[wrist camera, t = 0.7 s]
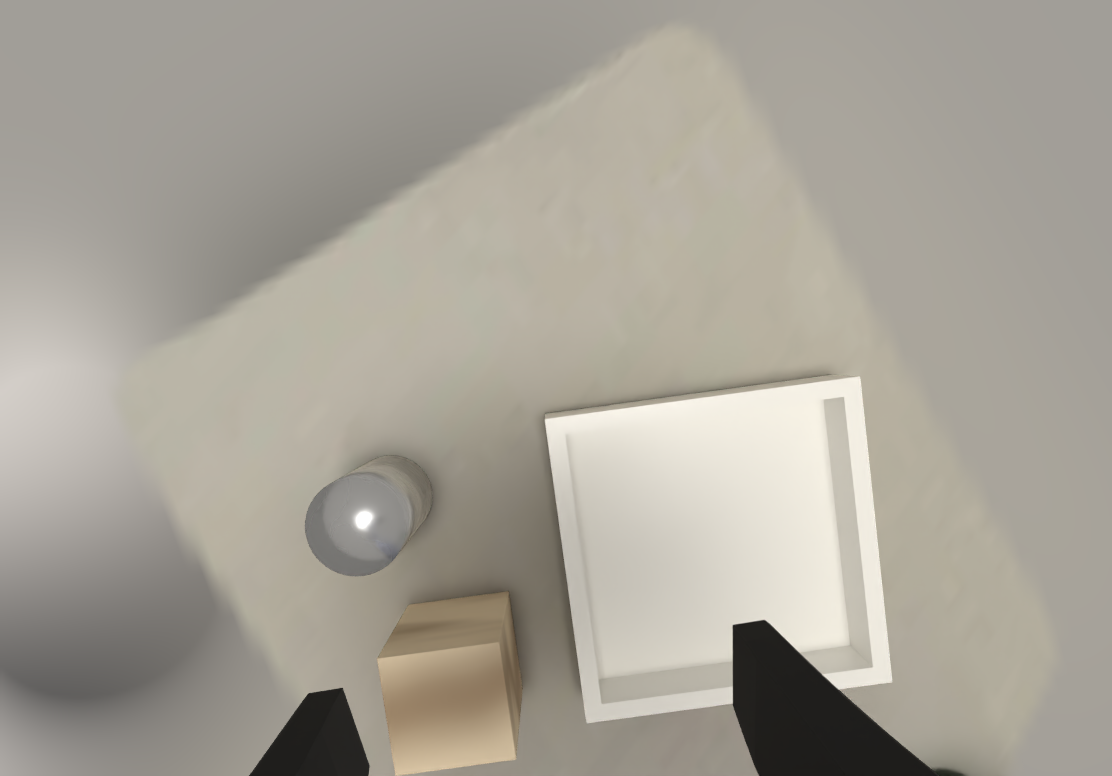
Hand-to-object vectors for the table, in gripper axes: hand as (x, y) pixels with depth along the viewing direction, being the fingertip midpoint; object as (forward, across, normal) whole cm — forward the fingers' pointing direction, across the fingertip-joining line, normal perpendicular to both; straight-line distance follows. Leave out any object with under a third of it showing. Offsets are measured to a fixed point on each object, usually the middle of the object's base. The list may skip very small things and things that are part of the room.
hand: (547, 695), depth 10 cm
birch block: (+14, +5, +12) cm, 19 cm away
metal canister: (+17, +7, +5) cm, 19 cm away
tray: (+15, -8, +8) cm, 19 cm away
